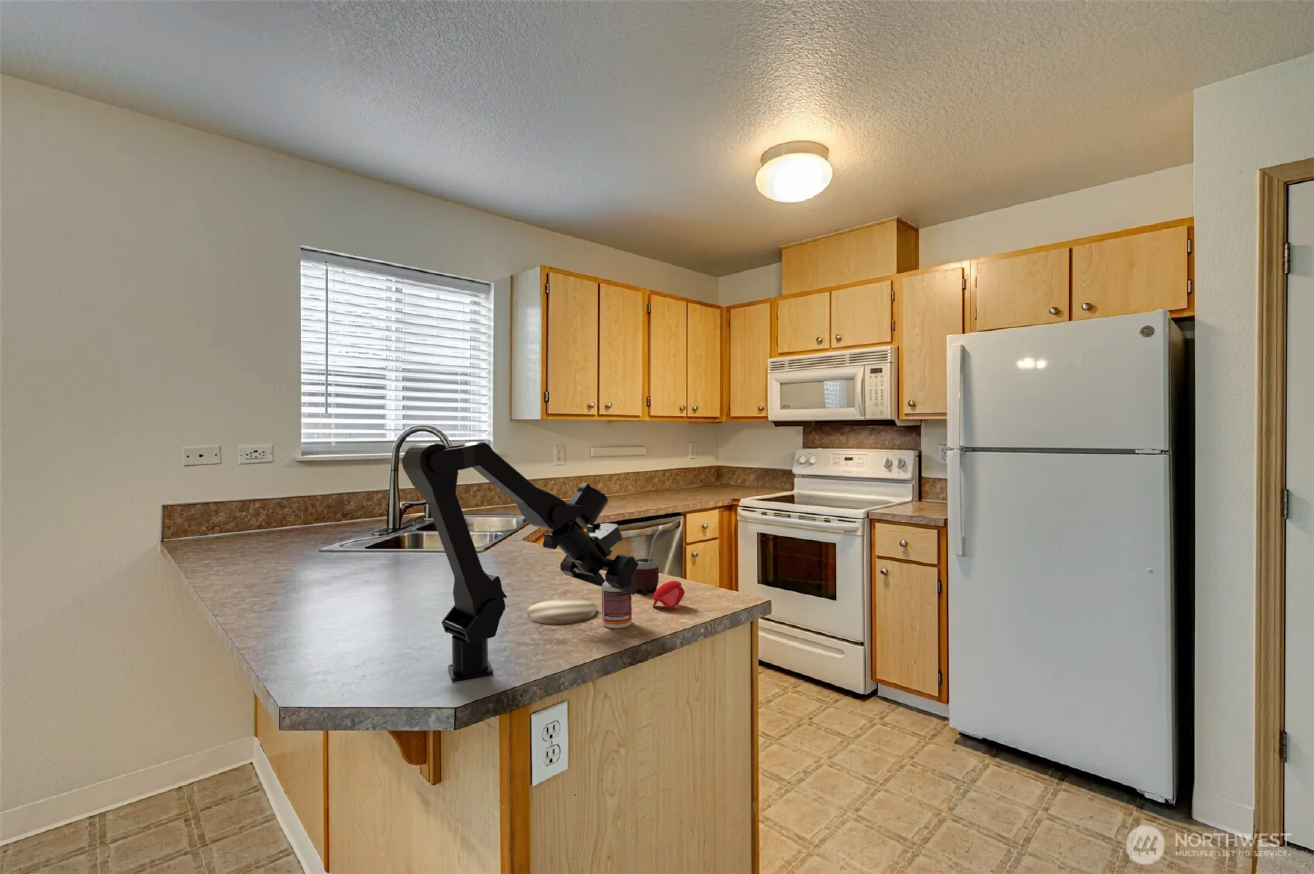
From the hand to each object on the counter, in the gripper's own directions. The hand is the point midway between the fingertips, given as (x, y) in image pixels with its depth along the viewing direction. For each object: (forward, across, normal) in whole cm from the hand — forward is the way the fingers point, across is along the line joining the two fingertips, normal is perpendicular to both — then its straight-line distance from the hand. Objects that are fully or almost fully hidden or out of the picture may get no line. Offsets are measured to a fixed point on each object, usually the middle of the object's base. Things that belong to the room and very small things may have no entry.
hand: (619, 589), depth 124 cm
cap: (+16, 0, -5) cm, 17 cm away
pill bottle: (+4, 0, +6) cm, 7 cm away
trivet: (+2, +15, +8) cm, 17 cm away
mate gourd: (+20, +14, -10) cm, 27 cm away
